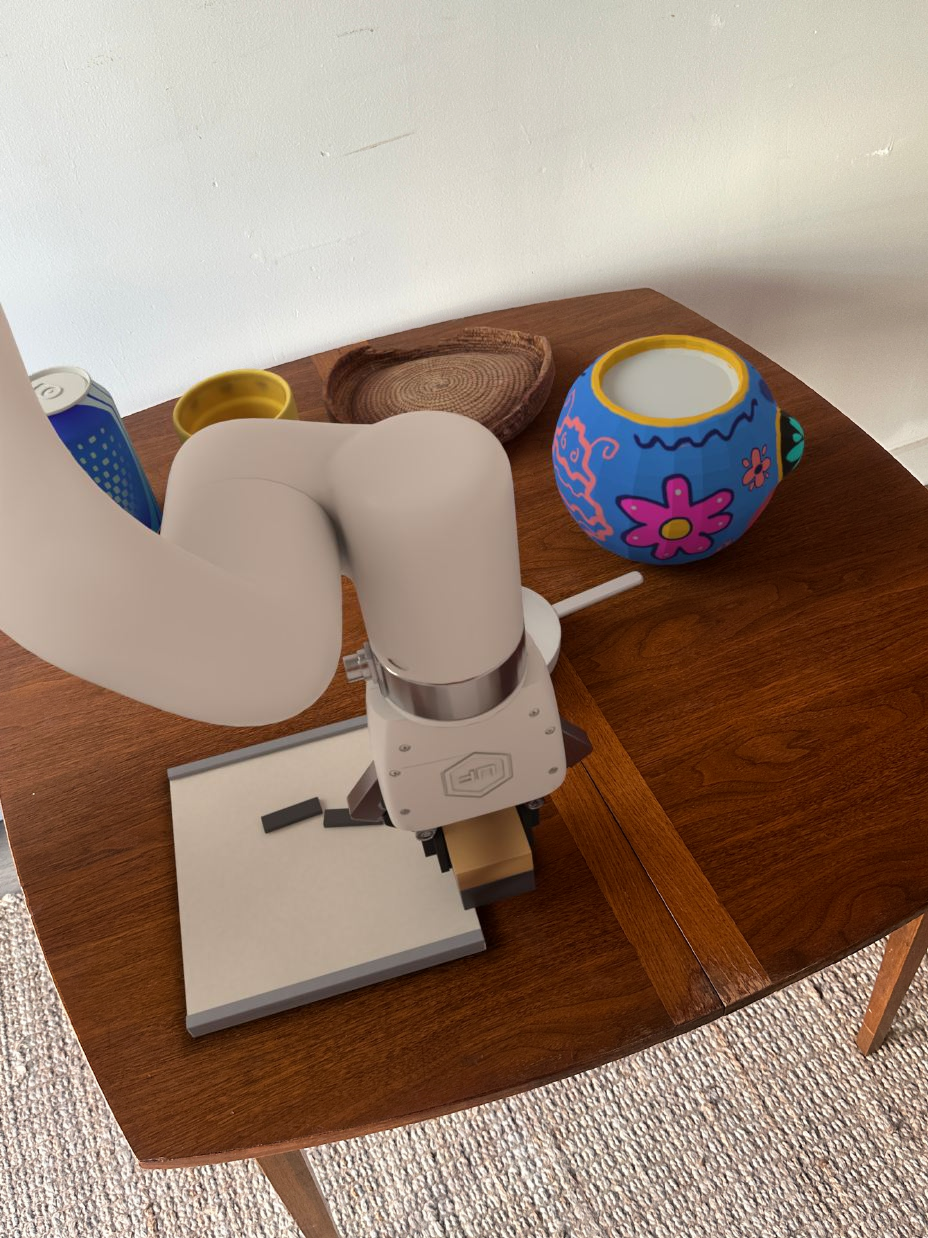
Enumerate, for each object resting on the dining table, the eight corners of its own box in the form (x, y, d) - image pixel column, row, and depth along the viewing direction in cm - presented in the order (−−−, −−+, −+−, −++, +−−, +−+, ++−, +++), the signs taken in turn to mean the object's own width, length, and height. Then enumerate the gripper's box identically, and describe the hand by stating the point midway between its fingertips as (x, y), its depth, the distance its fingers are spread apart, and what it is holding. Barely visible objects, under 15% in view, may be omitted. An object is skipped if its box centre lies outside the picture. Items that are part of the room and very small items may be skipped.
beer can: (161, 497, 95) (98, 348, 83) (172, 555, 89) (106, 403, 77) (71, 523, 94) (-6, 375, 82) (77, 583, 88) (-5, 433, 76)
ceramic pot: (815, 560, 81) (848, 403, 70) (611, 632, 78) (611, 480, 67) (705, 439, 92) (719, 288, 81) (524, 497, 89) (512, 349, 78)
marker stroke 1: (265, 834, 68) (264, 831, 67) (261, 819, 69) (260, 816, 68) (323, 813, 68) (322, 810, 68) (318, 799, 69) (317, 796, 69)
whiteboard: (193, 1038, 60) (186, 1029, 59) (173, 779, 73) (167, 768, 72) (486, 949, 62) (484, 939, 61) (416, 712, 75) (414, 701, 74)
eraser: (464, 911, 61) (455, 874, 57) (433, 802, 66) (423, 763, 63) (536, 890, 61) (531, 852, 58) (499, 783, 67) (493, 743, 63)
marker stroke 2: (323, 828, 68) (322, 824, 67) (325, 812, 68) (324, 809, 68) (383, 824, 67) (382, 821, 67) (384, 809, 68) (383, 805, 68)
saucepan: (401, 640, 79) (393, 607, 77) (608, 565, 83) (608, 530, 80) (450, 742, 72) (444, 709, 70) (675, 655, 76) (677, 621, 73)
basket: (505, 328, 108) (502, 286, 104) (598, 427, 95) (597, 382, 91) (305, 396, 103) (294, 353, 100) (374, 509, 90) (364, 466, 87)
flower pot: (284, 536, 89) (256, 447, 82) (184, 517, 92) (148, 430, 85) (334, 463, 96) (311, 374, 88) (238, 447, 99) (209, 361, 92)
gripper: (292, 754, 47) (360, 933, 60) (640, 660, 48) (632, 854, 62) (271, 638, 52) (338, 827, 65) (587, 556, 53) (590, 757, 67)
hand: (481, 838), depth 63 cm, fingers closed on eraser, 4 cm apart
